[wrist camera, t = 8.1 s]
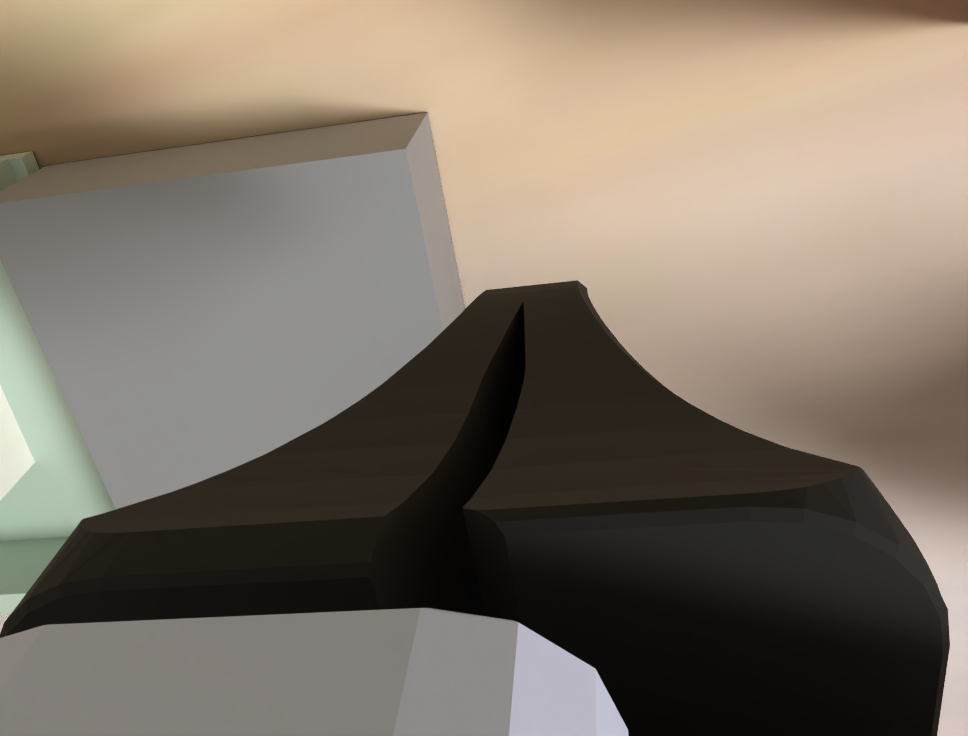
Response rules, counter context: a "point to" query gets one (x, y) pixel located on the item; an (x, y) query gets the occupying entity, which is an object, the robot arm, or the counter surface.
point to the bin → (38, 444)
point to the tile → (11, 449)
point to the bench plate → (230, 289)
